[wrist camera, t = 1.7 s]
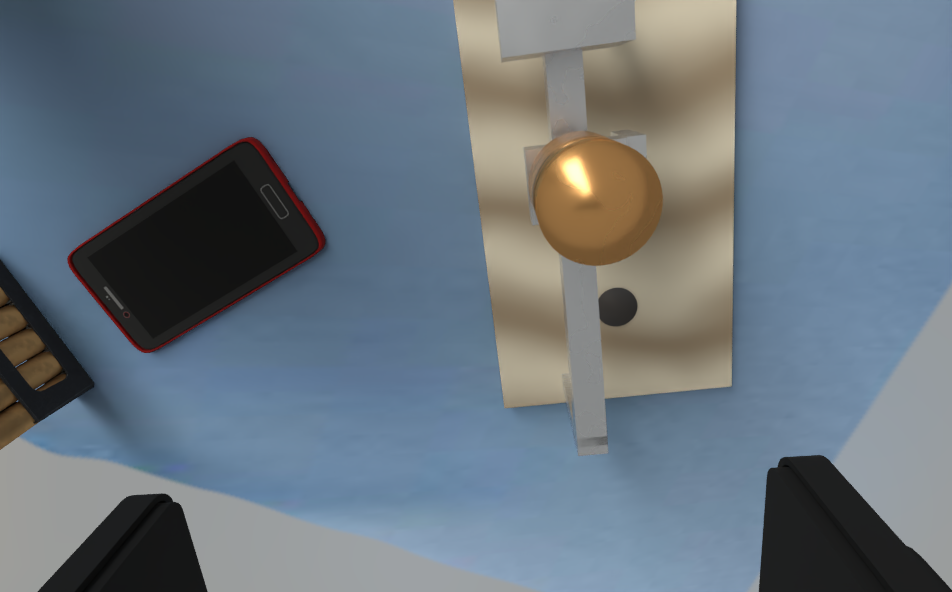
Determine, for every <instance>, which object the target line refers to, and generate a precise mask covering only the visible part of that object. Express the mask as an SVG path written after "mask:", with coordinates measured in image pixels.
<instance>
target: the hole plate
mask: <svg viewBox="0 0 952 592" xmlns="http://www.w3.org/2000/svg"><path fill="white" fill-rule="evenodd" d="M453 2H454V10H455V18H456V26H457V34H458V42H459V50H460V58H461V66H462V74H463V82H464V90H465V97H466V105H467V113H468V121H469V129H470V137H471V145H472V153H473V161H474V169H475V177H476V185H477V193H478V201H479V209H480V217H481V225H482V233H483V241H484V248H485V256H486V264H487V272H488V280H489V288H490V296H491V304H492V312H493V320H494V328H495V336H496V344H497V352H498V360H499V368H500V376H501V384H502V391H503V399H504V407H505V408H513V407H524V406H534V405H545V404H555V403H565V402H566V399H565V395H564V391H563V383H562V374H566V373H569V367H568V355H567V344H566V332H565V320H564V308H563V297H562V285H561V273H560V261H559V253H558V252H557V251H556V250H555V249H553V248H552V246H551V245H550V244H549V243H548V242H547V240H546V238H545V237H544V235H543V233H542V231H541V229H540V226H539V225H532V223H531V219H530V212H529V202H528V192H527V181H526V171H525V161H524V151H523V147H529V146H537V145H544V144H548V143H549V131H548V120H547V108H546V96H545V84H544V72H543V61H542V57H538V58H531V59H524V60H517V61H509V62H502V63H501V56H500V46H499V37H498V27H497V18H496V8H495V0H453ZM635 29H636V40H633V41H630V42H627V43H625V44H622V45H619V46H617V47H611V48H604V49H597V50H589V51H582V54H583V69H584V85H585V100H586V116H587V131H589V132H594V133H597V134H600V135H603V136H605V137H607V136H611V132H613V131H621V130H632V131H636V132H639V133H643V134H646V148H647V160H648V161H649V162H650V163H651V165H652V166H653V167H654V169H655V171H656V173H657V175H658V177H659V180H660V183H661V187H662V194H663V207H662V212H661V216H660V220H659V223H658V225H657V227H656V229H655V231H654V233H653V234H652V236H651V237H650V239H649V240H648V241H647V242H646V244H645V245H644V246H643V247H642V248H641V249H639V250H638V251H637V252H635V253H634V254H633V255H631V256H629V257H628V258H626V259H624V260H621V261H619V262H616V263H613V264H608V265H602V266H596V271H597V286H598V302H599V317H600V333H601V348H602V364H603V379H604V395H605V399H607V398H617V397H627V396H638V395H648V394H658V393H669V392H679V391H689V390H700V389H710V388H720V387H731V386H732V311H733V229H734V147H735V65H736V0H636V1H635Z"/></svg>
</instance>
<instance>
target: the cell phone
mask: <svg viewBox="0 0 952 592" xmlns="http://www.w3.org/2000/svg"><path fill="white" fill-rule="evenodd" d="M268 154H269V155H270V153H269V152H268V151H267V149H266V148H265V147H264V146H263V145H262V143H261V142H260V141H258V140H257V139H255V138H253V137H248V138H244V139H241V140H239V141H237V142H235V143H234V144H232V145H230V146H228V147H227V148H225V149H224V150H222V151H221V152H219V153H218V154H216V155H215V156H213V157H212V158H210V159H209V160H207V161H206V162H204V163H203V164H201V165H200V166H198V167H197V168H195V169H194V170H192V171H191V172H189V173H188V174H186V175H185V176H183V177H182V178H180V179H179V180H177V181H176V182H174V183H173V184H171V185H170V186H168V187H167V188H165V189H164V190H162V191H160V192H159V193H157V194H156V195H154V196H153V197H151V198H150V199H148V200H147V201H145V202H144V203H142V204H141V205H139V206H138V207H136V208H135V209H133V210H132V211H130V212H129V213H127V214H126V215H124V216H123V217H121V218H120V219H118V220H117V221H115V222H114V223H112V224H111V225H109V226H108V227H106V228H105V229H103V230H102V231H100V232H99V233H97V234H96V235H94V236H93V237H91V238H90V239H88V240H87V241H85V242H84V243H82V244H81V245H79V246H78V247H77V248H76V249H75V250H73V251H72V252H71V253H70V255H69V256H68V259H67V260H68V264H69V267H70V268H71V270H72V272H73V273H74V274H75V276H76V277H77V278H78V280H79V281H80V282H81V283H82V284H83V286H84V287H85V288H86V289H87V290H88V292H89V293H90V294H91V295H92V297H93V298H94V299H95V300H96V301H97V303H98V304H99V305H100V306H101V307H102V309H103V310H104V311H105V312H106V313H107V315H108V316H109V317H110V318H111V320H112V321H113V322H114V323H115V324H116V326H117V327H118V328H119V329H120V330H121V332H122V333H123V334H124V335H125V337H126V338H127V339H128V340H129V341H130V342H131V343H132V345H133V346H134V347H136V348H137V349H138V350H139V351H141V352H144V353H150V352H153V351H155V350H157V349H159V348H161V347H163V346H164V345H166V344H168V343H170V342H171V341H173V340H175V339H176V338H178V337H180V336H181V335H183V334H185V333H187V332H188V331H190V330H192V329H193V328H195V327H197V326H198V325H200V324H202V323H203V322H205V321H207V320H208V319H210V318H212V317H213V316H215V315H217V314H218V313H220V312H222V311H223V310H225V309H227V308H228V307H230V306H232V305H233V304H235V303H237V302H238V301H240V300H242V299H243V298H245V297H247V296H248V295H250V294H252V293H253V292H255V291H257V290H258V289H260V288H262V287H263V286H265V285H267V284H268V283H270V282H272V281H273V280H275V279H277V278H278V277H280V276H281V275H283V274H285V273H286V272H288V271H290V270H291V269H293V268H295V267H296V266H298V265H300V264H301V263H303V262H305V261H306V260H308V259H310V258H311V257H313V256H314V255H315V254H317V253H318V252H319V251H320V250H322V249H323V247H324V246H325V237H324V235H323V232H322V231H321V229H320V227H319V226H318V224H317V223H316V221H315V220H314V219H313V218H312V216H311V215H310V213H309V211H308V209H307V208H306V206H305V205H304V204H303V202H302V201H301V202H300V201H299V200H298V198H297V197H296V195H295V194H294V192H293V191H292V189H291V188H290V186H289V185H288V182H289V181H288V180H287V179H286V177H285V176H284V174H283V173H282V171H281V170H280V168H279V167H278V165H277V164H276V162H275V161H274V159H273V158H272V156H271V155H270V156H271V158H272V159H271V158H270V156H269V155H268ZM272 160H273V161H274V162H273V161H272ZM184 178H185V179H184ZM181 180H182V181H181ZM178 182H179V183H178ZM175 184H176V185H175ZM172 186H173V187H172ZM169 188H170V189H169ZM166 190H167V191H166ZM163 192H164V193H163ZM160 194H161V195H160ZM157 196H158V197H157ZM137 209H138V210H137ZM134 211H135V212H134ZM131 213H132V214H131ZM81 247H82V248H81ZM78 249H79V250H78ZM314 252H315V253H314ZM297 263H298V264H297ZM292 266H293V267H292ZM287 269H288V270H287ZM204 319H205V320H204ZM199 322H200V323H199ZM194 325H195V326H194ZM189 328H190V329H189ZM184 331H185V332H184ZM179 334H180V335H179Z"/></svg>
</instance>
